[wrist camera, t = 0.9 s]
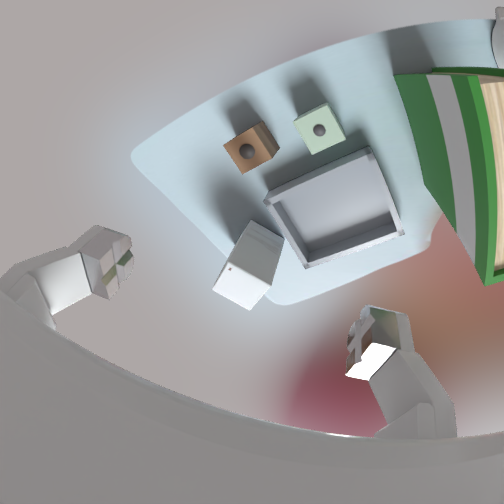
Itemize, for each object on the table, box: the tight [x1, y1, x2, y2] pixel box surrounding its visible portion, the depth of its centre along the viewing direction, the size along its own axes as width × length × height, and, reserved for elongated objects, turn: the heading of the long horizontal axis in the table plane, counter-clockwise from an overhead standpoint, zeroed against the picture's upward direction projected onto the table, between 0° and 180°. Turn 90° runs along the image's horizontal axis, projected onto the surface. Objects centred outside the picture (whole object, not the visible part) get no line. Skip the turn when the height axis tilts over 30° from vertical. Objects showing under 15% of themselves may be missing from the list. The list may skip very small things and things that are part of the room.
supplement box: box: [212, 220, 285, 310], centre depth 47 cm, size 7×7×13 cm
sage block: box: [293, 102, 346, 155], centre depth 34 cm, size 5×5×6 cm
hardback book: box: [393, 67, 504, 286], centre depth 22 cm, size 18×7×24 cm, turn 26°
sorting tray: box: [263, 146, 405, 269], centre depth 42 cm, size 18×14×4 cm
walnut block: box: [223, 121, 280, 174], centre depth 39 cm, size 5×5×6 cm
